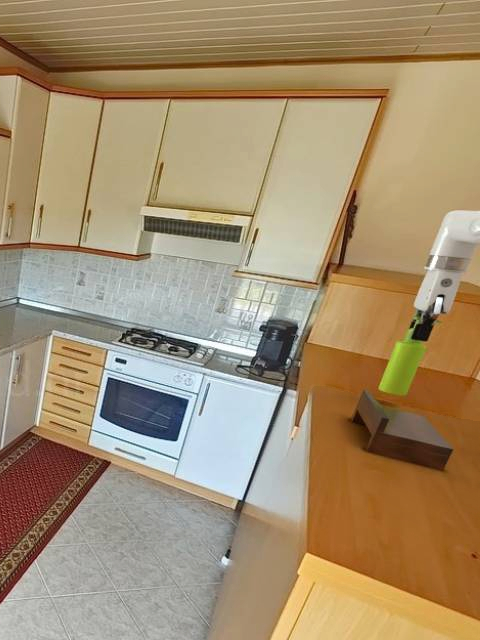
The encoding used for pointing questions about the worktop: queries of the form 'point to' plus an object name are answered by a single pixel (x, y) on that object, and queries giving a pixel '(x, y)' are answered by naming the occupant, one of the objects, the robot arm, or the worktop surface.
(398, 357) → the soap dispenser
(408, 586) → the worktop surface
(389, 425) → the wooden toy bed
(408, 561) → the worktop surface
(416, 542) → the worktop surface
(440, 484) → the worktop surface
